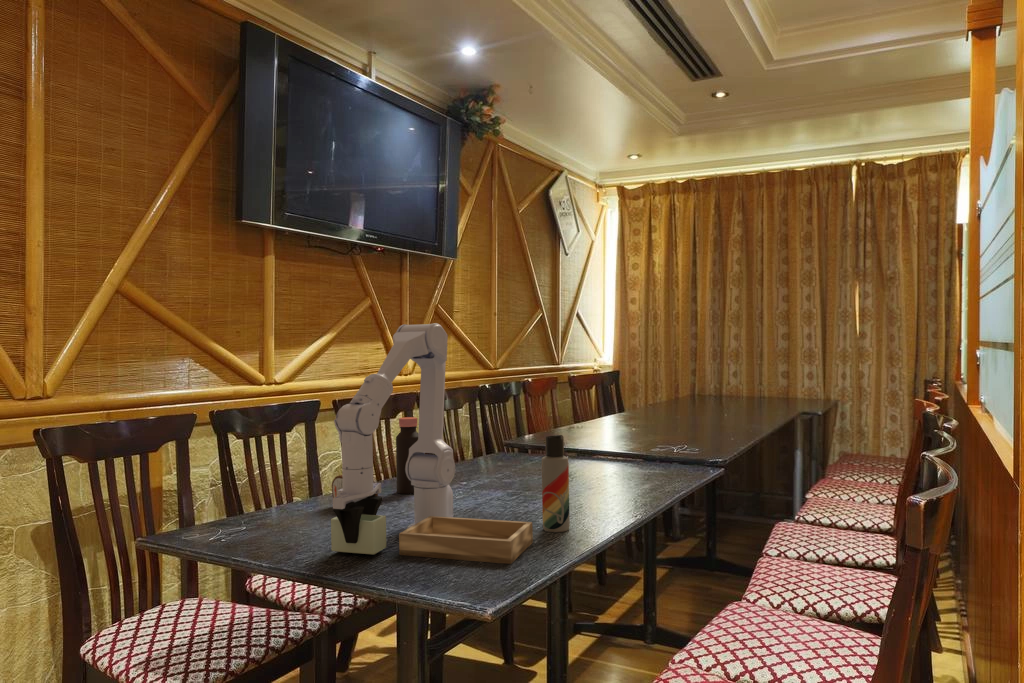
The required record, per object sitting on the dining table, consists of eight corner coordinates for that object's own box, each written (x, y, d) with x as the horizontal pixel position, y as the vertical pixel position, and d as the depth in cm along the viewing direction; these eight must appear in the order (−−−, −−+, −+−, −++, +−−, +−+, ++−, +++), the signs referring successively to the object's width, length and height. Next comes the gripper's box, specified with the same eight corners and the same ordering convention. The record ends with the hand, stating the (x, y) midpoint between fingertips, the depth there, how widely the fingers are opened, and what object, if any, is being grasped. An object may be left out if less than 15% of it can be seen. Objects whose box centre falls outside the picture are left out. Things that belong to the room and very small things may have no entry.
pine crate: (430, 535, 144) (430, 515, 144) (532, 542, 137) (532, 522, 137) (399, 554, 130) (399, 533, 130) (511, 563, 124) (510, 541, 124)
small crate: (345, 543, 136) (344, 513, 136) (386, 547, 133) (385, 515, 133) (331, 550, 131) (330, 519, 131) (374, 554, 128) (373, 521, 128)
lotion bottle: (550, 533, 143) (548, 436, 143) (538, 527, 148) (536, 433, 149) (574, 530, 145) (572, 434, 146) (561, 524, 151) (560, 432, 151)
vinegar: (419, 488, 192) (418, 416, 193) (424, 493, 186) (422, 418, 186) (394, 490, 190) (393, 417, 190) (398, 495, 184) (397, 419, 184)
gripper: (358, 460, 140) (359, 527, 140) (317, 473, 126) (318, 548, 126) (390, 461, 138) (391, 529, 138) (351, 474, 124) (353, 550, 124)
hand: (358, 538), depth 132 cm, fingers closed on small crate, 5 cm apart
